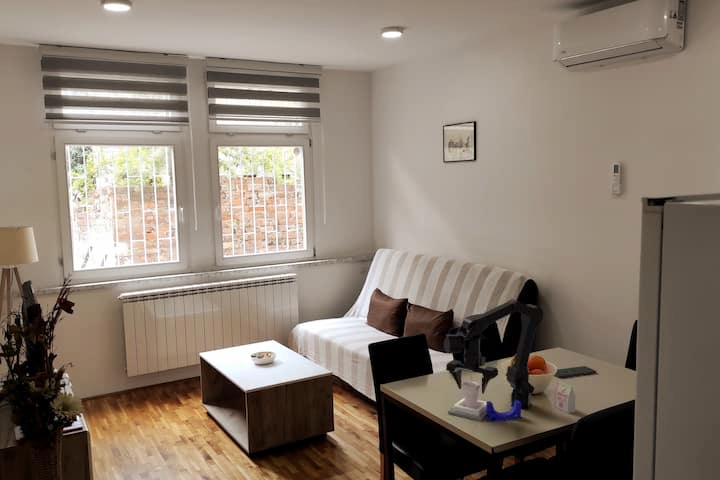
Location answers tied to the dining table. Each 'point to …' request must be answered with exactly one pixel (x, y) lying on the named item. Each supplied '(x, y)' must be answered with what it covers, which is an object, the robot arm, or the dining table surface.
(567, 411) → the milk carton
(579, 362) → the dining table surface
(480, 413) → the socket plate
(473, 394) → the smoothie
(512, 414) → the cable clip
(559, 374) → the smart home device
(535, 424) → the dining table surface
